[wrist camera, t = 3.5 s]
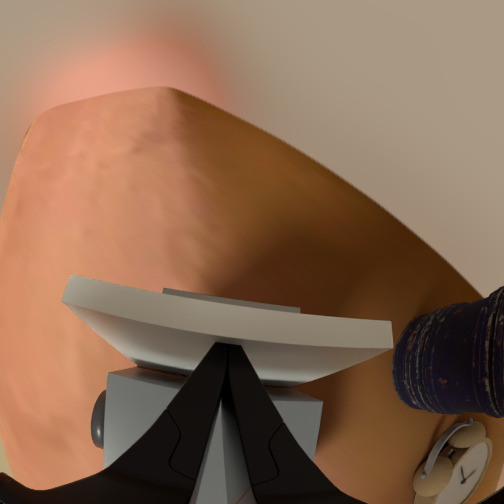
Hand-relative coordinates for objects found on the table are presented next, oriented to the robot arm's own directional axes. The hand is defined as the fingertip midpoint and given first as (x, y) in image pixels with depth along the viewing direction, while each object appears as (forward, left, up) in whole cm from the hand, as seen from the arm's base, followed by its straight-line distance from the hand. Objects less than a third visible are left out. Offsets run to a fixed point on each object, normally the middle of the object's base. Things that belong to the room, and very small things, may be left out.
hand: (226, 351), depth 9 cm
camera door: (-1, 0, -10) cm, 10 cm away
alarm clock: (-22, -20, -12) cm, 32 cm away
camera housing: (-6, +2, -12) cm, 13 cm away
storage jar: (-7, -19, -12) cm, 23 cm away
